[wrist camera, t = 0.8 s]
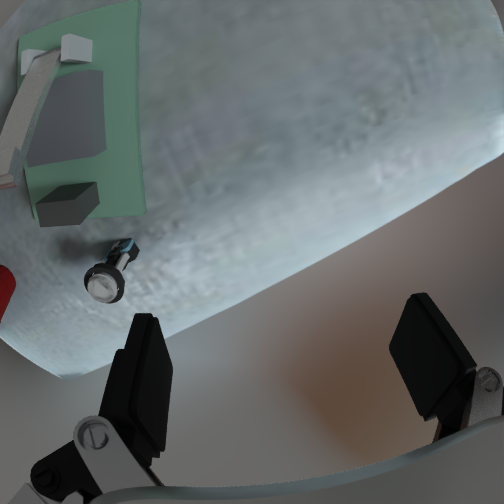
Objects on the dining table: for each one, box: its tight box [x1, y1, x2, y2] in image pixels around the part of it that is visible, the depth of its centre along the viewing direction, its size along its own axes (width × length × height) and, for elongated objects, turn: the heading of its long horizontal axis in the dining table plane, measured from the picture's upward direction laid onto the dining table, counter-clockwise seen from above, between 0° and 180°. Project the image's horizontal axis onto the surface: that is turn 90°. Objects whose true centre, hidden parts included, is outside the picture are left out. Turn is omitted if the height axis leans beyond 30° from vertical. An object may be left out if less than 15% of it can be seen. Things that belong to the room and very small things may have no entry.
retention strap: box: [0, 47, 62, 190], centre depth 18 cm, size 17×4×2 cm
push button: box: [84, 239, 140, 303], centre depth 35 cm, size 7×5×10 cm
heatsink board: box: [17, 0, 146, 227], centre depth 26 cm, size 28×18×8 cm, turn 178°
